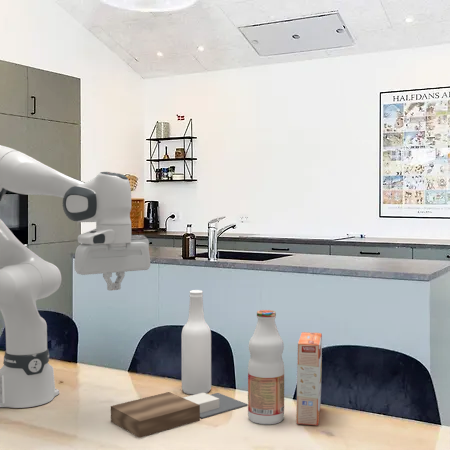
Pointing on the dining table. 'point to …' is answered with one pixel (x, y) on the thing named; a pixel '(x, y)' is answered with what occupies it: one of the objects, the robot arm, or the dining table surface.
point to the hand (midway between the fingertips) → (113, 289)
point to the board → (154, 414)
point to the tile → (204, 401)
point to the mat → (223, 405)
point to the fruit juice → (266, 371)
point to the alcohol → (196, 348)
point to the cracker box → (309, 378)
